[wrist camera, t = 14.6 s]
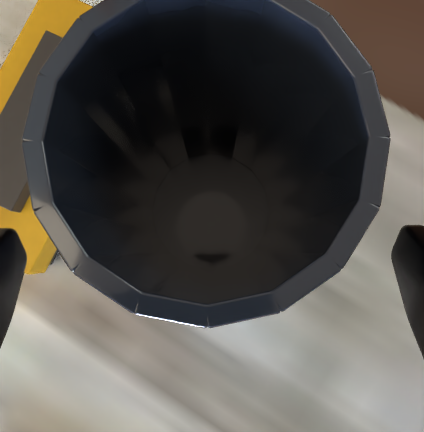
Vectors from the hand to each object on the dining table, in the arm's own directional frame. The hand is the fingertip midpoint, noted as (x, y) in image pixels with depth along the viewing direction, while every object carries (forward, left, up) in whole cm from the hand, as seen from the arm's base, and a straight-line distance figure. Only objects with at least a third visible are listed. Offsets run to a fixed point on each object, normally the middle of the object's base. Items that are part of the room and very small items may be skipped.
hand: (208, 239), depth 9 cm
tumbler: (+2, +1, -10) cm, 10 cm away
